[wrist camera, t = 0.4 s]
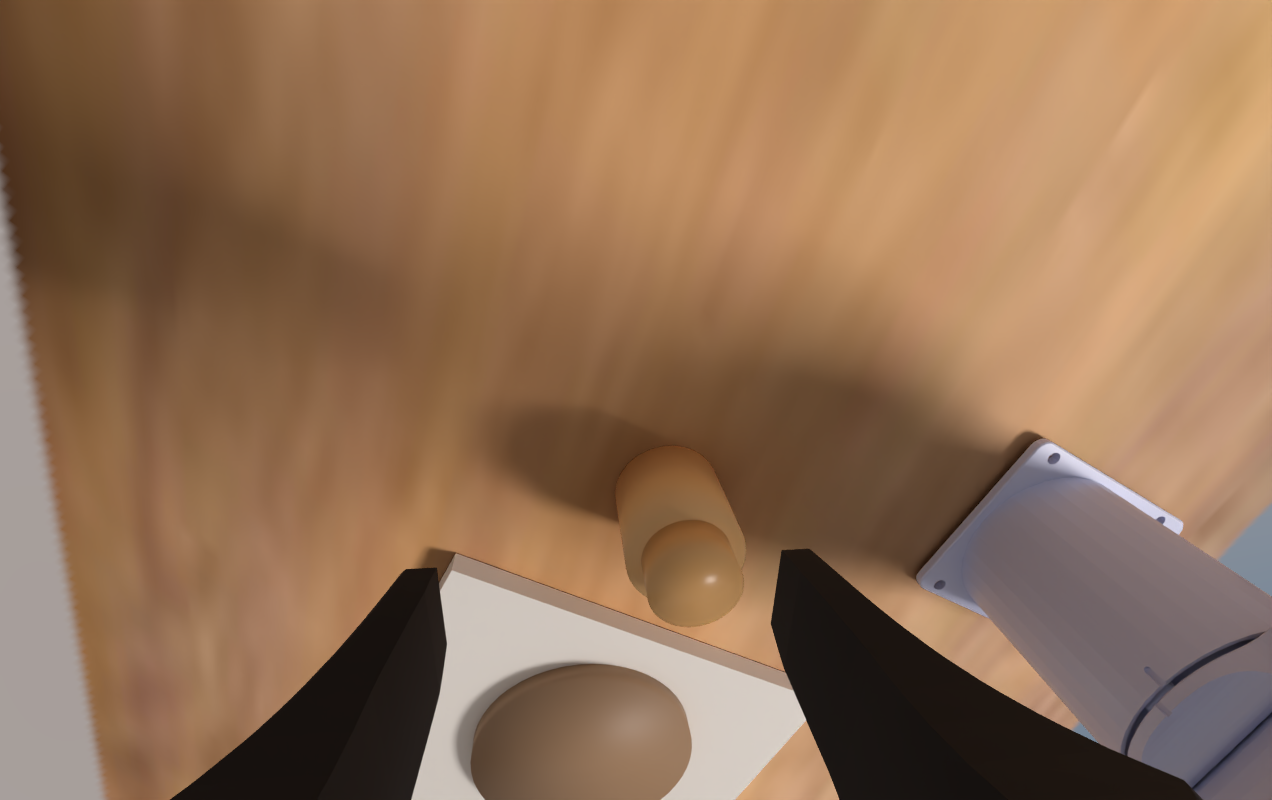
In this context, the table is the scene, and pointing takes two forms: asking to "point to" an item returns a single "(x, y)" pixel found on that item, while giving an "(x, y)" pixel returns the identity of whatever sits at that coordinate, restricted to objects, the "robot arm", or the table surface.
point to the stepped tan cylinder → (680, 536)
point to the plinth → (589, 702)
